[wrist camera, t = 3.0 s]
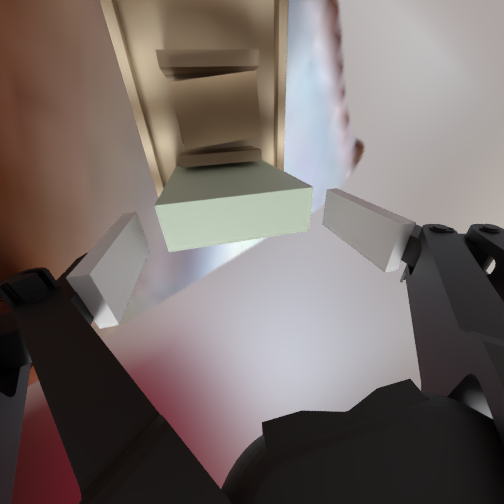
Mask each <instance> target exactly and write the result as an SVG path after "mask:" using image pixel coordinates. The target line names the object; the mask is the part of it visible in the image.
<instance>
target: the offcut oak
mask: <svg viewBox="0 0 504 504" xmlns="http://www.w3.org/2000/svg"><path fill="white" fill-rule="evenodd" d="M167 85H168V89H169V92H170V96H171V99H172V103H173V106H174V110H175V114H176V117H177V121H178V124H179V128H180V131H181V135H182V138H183V142H184V145H185V149H186V150H188V149H194V148H200V147H205V146H211V145H217V144H222V143H228V142H234V141H239V140H245V139H251V138H256V137H262V132H261V122H260V111H259V101H258V91H257V80H256V70H254V71H246V72H239V73H232V74H225V75H217V76H210V77H203V78H196V79H189V80H181V81H174V82H167Z"/></svg>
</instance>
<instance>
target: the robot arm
mask: <svg viewBox="0 0 504 504" xmlns="http://www.w3.org/2000/svg"><path fill="white" fill-rule="evenodd" d="M322 224H323V225H324V226H325V227H327V228H328V229H329V230H330V231H332V232H333V233H334V234H336V235H337V236H338V237H340V238H341V239H342V240H343V241H345V242H346V243H347V244H349V245H350V246H351V247H353V248H354V249H355V250H356V251H358V252H359V253H360V254H362V255H363V256H364V257H366V258H367V259H368V260H369V261H371V262H372V263H373V264H375V265H376V266H377V267H378V268H380V269H381V270H382V271H384V272H389V271H395V270H397V269H398V267H399V264H400V262H401V260H402V261H404V262H405V263H407V265H406V268H405V270H404V272H403V275H402V277H401V280H400V282H403V280H405V279H406V284H407V290H408V297H409V304H410V310H411V317H412V323H413V331H414V337H415V344H416V351H417V357H418V364H419V371H420V378H421V391H420V390H419V388H418V387H417V386H416V385H415V384H414V383H413V381H412V380H411V379H408V380H404V381H401V382H397V383H394V384H390V385H387V386H384V387H380V388H377V389H376V390H375V391H373V392H372V393H371V394H370V395H368V396H367V397H366V398H365V399H363V400H362V401H361V402H359V403H358V404H357V405H356V406H354V407H353V408H352V409H350V410H349V411H346V412H329V411H299V412H296V413H293V414H289V415H286V416H282V417H279V418H275V419H272V420H269V421H265V422H262V429H263V430H262V431H263V435H262V436H260V437H259V438H257V439H256V440H255V441H254V442H253V443H252V444H250V445H249V446H248V447H247V448H246V449H245V451H244V452H243V453H242V454H241V456H240V457H239V458H238V459H237V461H236V462H235V464H234V465H233V467H232V469H231V470H230V472H229V474H228V476H227V478H226V480H225V482H224V484H223V486H222V488H221V489H220V488H219V486H218V485H217V484H216V483H215V481H214V480H213V479H212V478H211V476H210V475H209V474H208V472H207V471H206V470H205V469H204V467H203V466H202V465H201V464H200V462H199V461H198V460H197V458H196V457H195V456H194V455H193V454H192V452H191V451H190V450H189V448H188V447H187V446H186V445H185V444H184V442H183V441H182V439H181V438H180V437H179V436H178V434H177V433H176V432H175V431H174V429H173V428H172V427H171V426H170V424H169V423H168V422H167V421H166V419H165V418H164V417H163V416H162V415H160V414H159V412H158V411H157V410H156V409H155V407H154V406H153V405H152V404H151V402H150V401H149V400H148V399H147V397H146V396H145V395H144V393H143V392H142V391H141V390H140V388H139V387H138V386H137V384H136V383H135V382H134V380H133V379H132V378H131V377H130V375H129V374H128V373H127V372H126V370H125V369H124V368H123V366H122V365H121V364H120V363H119V361H118V360H117V359H116V357H115V356H114V355H113V354H112V352H111V351H110V350H109V348H108V347H107V346H106V345H105V343H104V342H103V341H102V340H101V338H100V337H99V336H98V334H97V333H96V332H95V331H94V329H93V328H92V327H91V323H92V321H93V319H94V321H95V322H96V324H97V325H98V327H99V328H100V329H101V328H106V327H111V326H116V325H119V324H120V322H121V319H122V317H123V314H124V312H125V309H126V307H127V305H128V302H129V300H130V297H131V295H132V292H133V290H134V288H135V285H136V283H137V280H138V278H139V275H140V273H141V271H142V268H143V266H144V263H145V261H146V258H147V256H148V254H149V251H150V248H149V245H148V242H147V240H146V237H145V234H144V231H143V229H142V226H141V223H140V220H139V218H138V215H137V212H134V213H126V214H123V215H122V216H121V217H120V218H119V219H118V221H117V222H116V223H115V224H114V225H113V226H112V227H111V228H110V229H109V231H108V232H107V233H106V234H105V235H104V236H103V237H102V238H101V239H100V241H99V242H98V243H97V244H96V245H95V246H94V247H93V248H92V249H91V250H90V252H89V253H86V254H84V255H83V256H81V257H79V258H78V259H76V260H75V261H74V263H73V264H72V265H71V267H69V268H68V269H67V270H66V272H64V273H63V274H62V275H61V276H60V277H59V278H58V279H57V280H55V279H54V277H53V276H52V274H51V273H50V271H49V270H48V269H46V268H33V269H28V270H25V271H22V272H19V273H17V274H15V275H12V276H10V277H8V278H6V279H5V280H3V281H1V282H0V297H1V298H2V299H3V300H4V301H5V302H6V303H7V304H8V305H9V306H10V307H11V309H12V310H13V311H10V312H7V313H4V314H1V315H0V504H11V498H12V491H13V484H14V477H15V470H16V463H17V456H18V449H19V442H20V435H21V428H22V421H23V414H24V406H25V400H26V393H27V386H28V379H29V372H30V365H31V363H33V366H34V368H35V371H36V374H37V376H38V379H39V382H40V384H41V387H42V389H43V392H44V395H45V397H46V400H47V403H48V405H49V408H50V411H51V413H52V416H53V418H54V421H55V424H56V426H57V429H58V431H59V434H60V437H61V439H62V442H63V445H64V447H65V450H66V453H67V455H68V458H69V461H70V463H71V466H72V468H73V471H74V473H75V476H76V479H77V481H78V484H79V487H80V491H81V501H80V502H79V504H504V229H502V228H500V227H498V226H495V225H491V224H473V225H471V226H470V228H469V230H468V232H467V233H466V234H458V233H457V231H455V230H454V229H453V228H450V227H447V226H444V225H440V224H426V225H423V226H422V227H421V226H418V225H416V222H414V221H411V220H409V219H407V218H404V217H402V216H400V215H397V214H395V213H393V212H390V211H388V210H386V209H383V208H381V207H379V206H376V205H374V204H372V203H369V202H367V201H364V200H362V199H360V198H358V197H355V196H353V195H351V194H348V193H346V192H344V191H342V190H339V189H337V188H335V189H327V193H326V201H325V208H324V216H323V223H322ZM493 259H494V260H495V263H496V264H495V268H494V270H493V272H492V273H491V274H488V273H487V272H486V270H487V268H488V267H489V265H490V264H491V262H492V261H493Z"/></svg>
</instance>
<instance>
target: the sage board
mask: <svg viewBox="0 0 504 504" xmlns="http://www.w3.org/2000/svg"><path fill="white" fill-rule="evenodd" d="M312 196H313V187H312V186H310V185H309V184H307V183H305V182H303V181H301V180H299V179H297V178H295V177H293V176H292V175H290V174H288V173H286V172H284V171H282V170H280V169H278V168H276V167H275V166H273V165H271V164H269V163H267V162H265V161H263V160H260V161H249V162H238V163H227V164H216V165H205V166H194V167H183V168H181V166H176V167H175V169H174V171H173V173H172V175H171V176H170V178H169V180H168V182H167V184H166V186H165V187H164V189H163V191H162V193H161V195H160V196H159V198H158V200H157V202H156V204H155V205H154V206H155V209H156V212H157V216H158V219H159V222H160V225H161V228H162V232H163V235H164V238H165V241H166V244H167V247H168V251H169V252H173V251H180V250H186V249H193V248H199V247H206V246H212V245H219V244H226V243H232V242H239V241H245V240H252V239H258V238H265V237H271V236H278V235H284V234H291V233H298V232H304V231H309V224H310V215H311V206H312Z"/></svg>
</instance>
